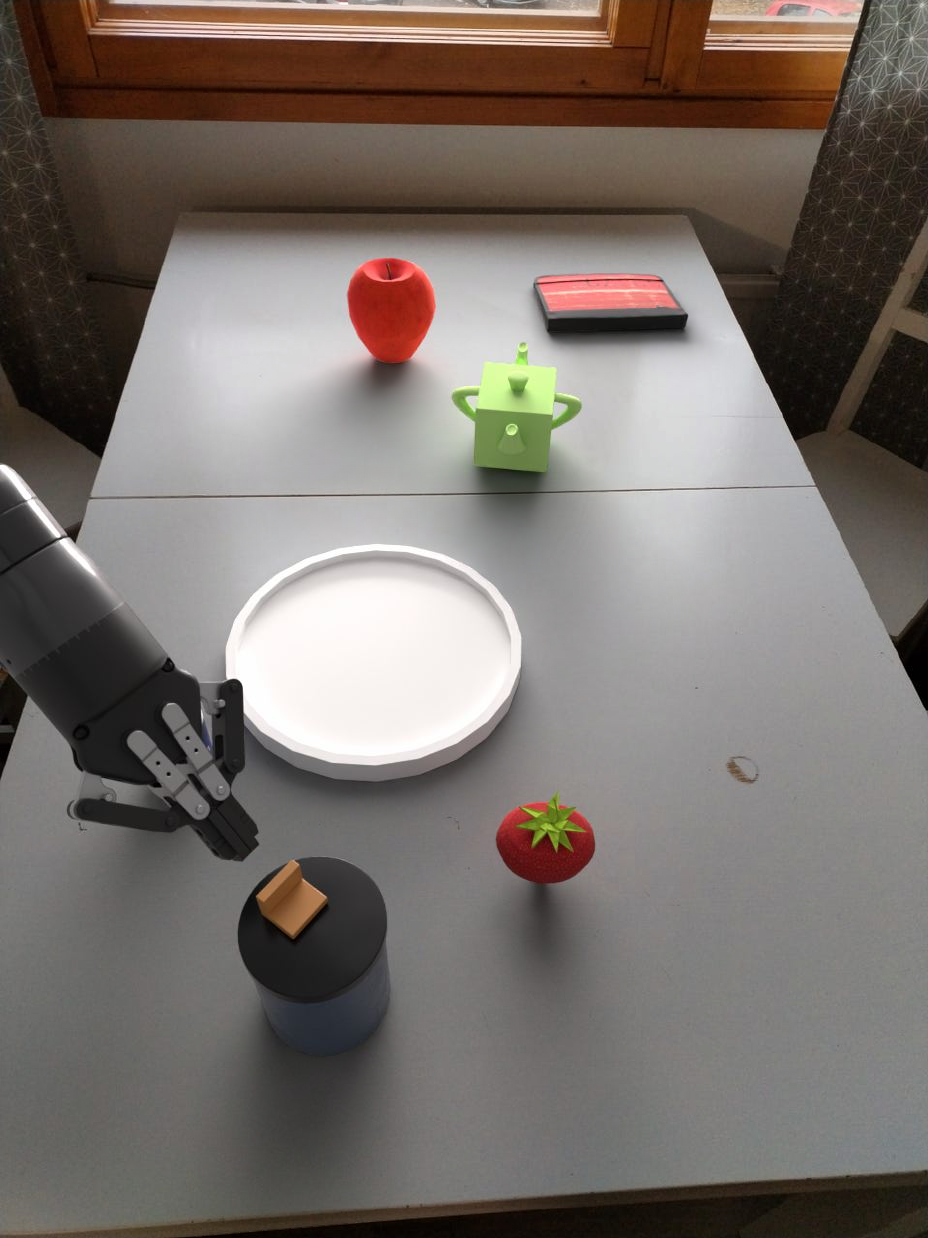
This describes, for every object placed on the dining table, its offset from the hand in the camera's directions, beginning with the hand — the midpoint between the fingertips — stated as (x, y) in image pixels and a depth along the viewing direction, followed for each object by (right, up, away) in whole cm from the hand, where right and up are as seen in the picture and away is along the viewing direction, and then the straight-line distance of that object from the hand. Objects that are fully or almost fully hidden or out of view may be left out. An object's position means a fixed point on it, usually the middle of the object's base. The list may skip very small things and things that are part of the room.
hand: (246, 852), depth 56 cm
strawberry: (+20, -6, +15) cm, 25 cm away
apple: (+4, +52, +69) cm, 87 cm away
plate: (+5, +11, +30) cm, 32 cm away
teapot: (+20, +35, +54) cm, 68 cm away
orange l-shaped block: (+3, -4, +1) cm, 5 cm away
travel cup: (+4, -12, +8) cm, 15 cm away
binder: (+36, +63, +81) cm, 108 cm away
